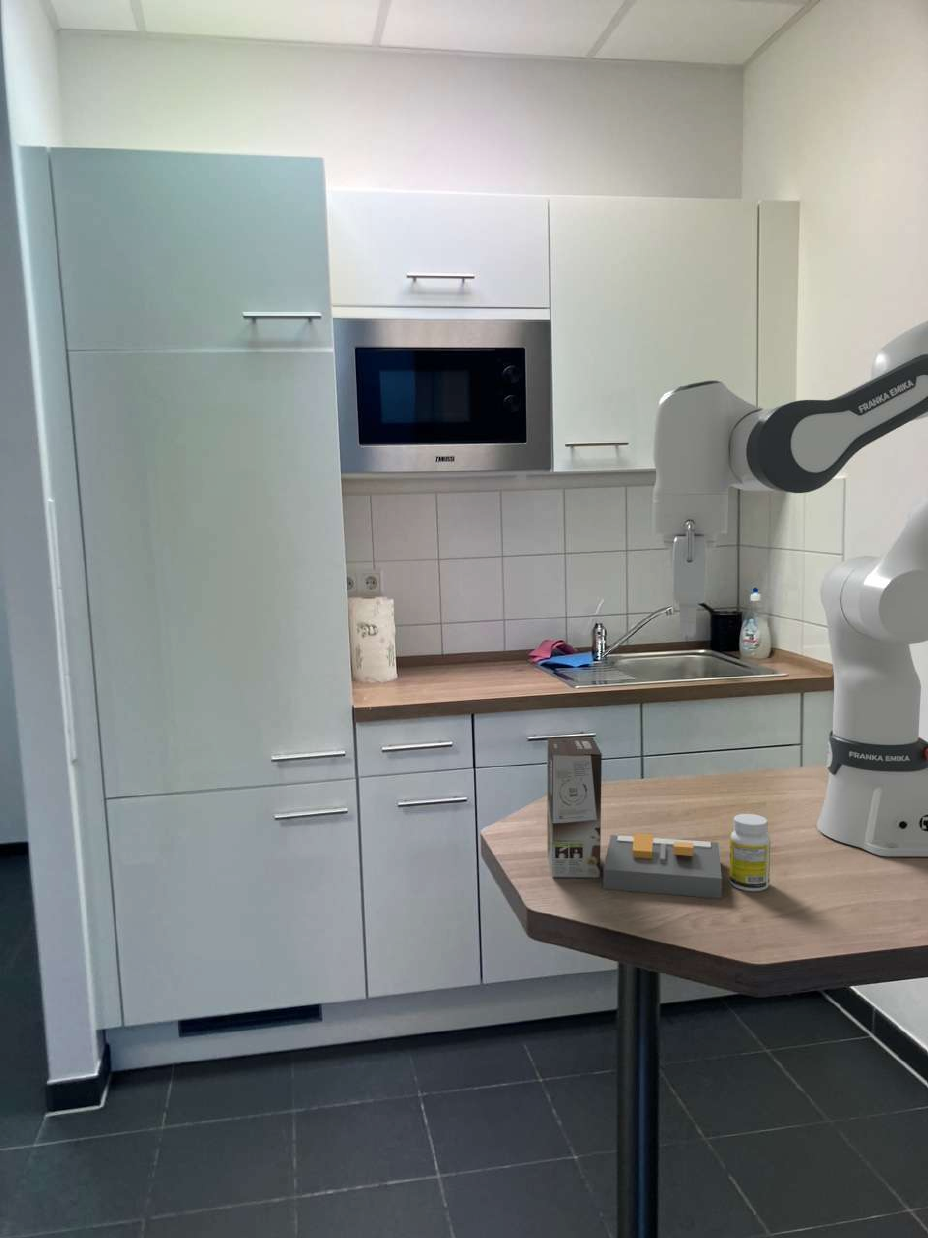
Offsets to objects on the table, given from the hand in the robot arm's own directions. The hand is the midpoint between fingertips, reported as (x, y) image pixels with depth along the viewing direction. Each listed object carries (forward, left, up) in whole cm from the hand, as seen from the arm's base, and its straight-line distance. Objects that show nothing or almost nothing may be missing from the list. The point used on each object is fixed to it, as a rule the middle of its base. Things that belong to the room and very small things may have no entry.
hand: (687, 632), depth 114 cm
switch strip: (+3, 0, -31) cm, 31 cm away
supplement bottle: (-8, +1, -31) cm, 32 cm away
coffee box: (+14, -1, -31) cm, 34 cm away
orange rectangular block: (0, 0, -28) cm, 28 cm away
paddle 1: (+5, 0, -28) cm, 28 cm away
